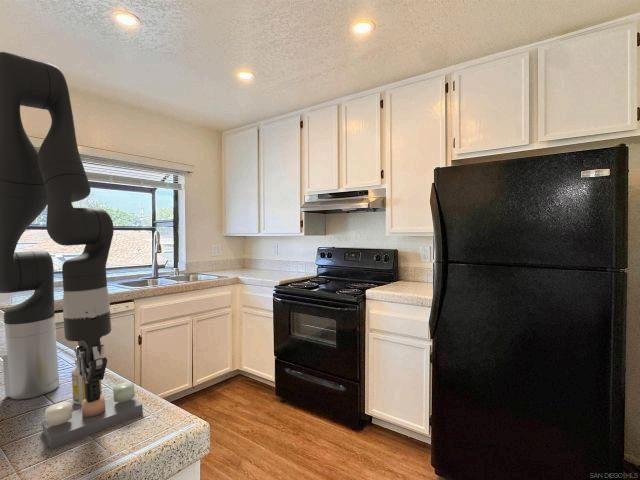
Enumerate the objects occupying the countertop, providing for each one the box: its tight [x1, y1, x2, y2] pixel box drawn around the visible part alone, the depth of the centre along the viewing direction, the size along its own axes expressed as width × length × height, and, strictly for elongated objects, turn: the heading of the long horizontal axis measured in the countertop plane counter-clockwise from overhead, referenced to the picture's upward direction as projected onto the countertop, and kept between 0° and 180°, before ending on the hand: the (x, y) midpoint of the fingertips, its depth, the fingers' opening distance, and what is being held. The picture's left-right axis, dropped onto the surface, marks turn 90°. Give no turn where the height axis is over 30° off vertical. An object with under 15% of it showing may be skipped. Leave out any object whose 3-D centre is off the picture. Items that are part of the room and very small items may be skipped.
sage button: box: [112, 381, 136, 402], centre depth 73 cm, size 4×4×2 cm
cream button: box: [45, 401, 73, 426], centre depth 65 cm, size 4×4×2 cm
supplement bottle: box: [71, 357, 103, 405], centre depth 79 cm, size 5×5×10 cm
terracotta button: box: [81, 394, 106, 417], centre depth 69 cm, size 4×4×2 cm
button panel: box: [41, 396, 144, 450], centre depth 69 cm, size 15×8×2 cm, turn 136°
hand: (93, 400), depth 69 cm, fingers closed
